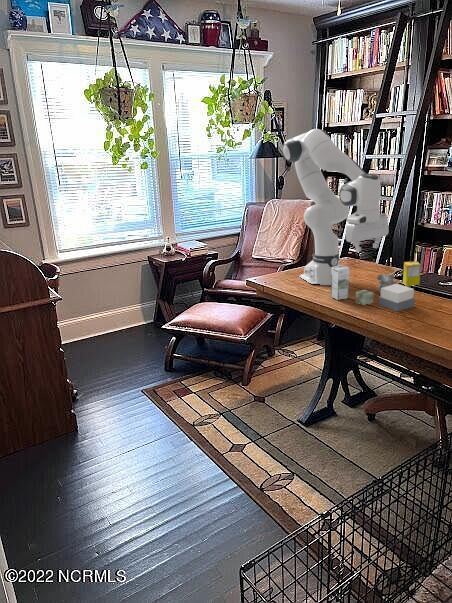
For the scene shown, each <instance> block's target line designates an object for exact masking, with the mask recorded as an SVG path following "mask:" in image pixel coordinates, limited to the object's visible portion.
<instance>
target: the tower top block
mask: <svg viewBox="0 0 452 603" xmlns="http://www.w3.org/2000/svg"><path fill="white" fill-rule="evenodd" d="M414 293H415V289H414V287H413V288H409V287H406V286H404V285H403V284H399V283H395V284H394V285H390V286H387V287H383V288H381V294H380V296H381V298H384V299H387V300H390V301H393V302H396V303H399V302H402V301H406V300H409V299H412V298H414V295H415V294H414Z"/></svg>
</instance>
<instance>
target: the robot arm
mask: <svg viewBox="0 0 452 603" xmlns="http://www.w3.org/2000/svg"><path fill="white" fill-rule="evenodd" d="M282 153H283V156H284V158H285V160H286V161H288V162H289V163H294V167H295V168H294V169H295V172H296V176H297V178H298V182H299V183H300V185H301V188H302V190H303V193H304V195H305V197H306V198H307V199H309V200H311V201H312V202H314V204H313V205H311V206H309V207H307V208H306V209H305V211H304V212H303V220H304V222H305V224H306V226H308V227H309V229H310V230H311V232H312V233H313V237H314V253H311V257H312V260H311V261H310V262H308V263H307V264H306V265H305V266H304V268H303V273H302V274H300V275H299V278H300V277H301V278H302V279H301V278H300V279H301V280H303V279H304V280H306V281H307V282H306V281H305V282H306V283H308V282H309V283H311V284H320V285H319V286H331V269H332V267H334V266H340V262H339V261H340V253H339V236H338V235H337V234H336V233H334V231H333V229H332V226H333V225H335V224H339V223H340V222H343V221H345V220H346V223H347V224H346V227H345V240H346V242H347V243H352V244H353V246H354V247H355V252H356V253H360V252H362V246H360V243H361V242H362V241H366V240H372V239H374V243H372V248H373V249H378V248H379V245H380V242H381V241H382V237H386V236H388V235H389V232H390V231H389V230H390V229H389V228H390V226H389V221H388V215H387V214H386V213H384V212H382V213H381V206H380V205H381V204H380V200H381V196H382V187H381V186H382V185H381V180H380V177H379V176H378V175H376V174H374V173H367V172H366V171H365V170H364V169H363V168H362V167H361V166H360V165H359V164H358V163H357V161H355V160H354V158H352V157H351V156H349V155H348V154H346V153H345V152H344V151H342V150H341V149H340V148H339V147H338V146H337V145H336V144H335V143H334V142H333V140H332V139H331V138H330V136H329V134H328V133H327V132H326V131H325V130H324V129H319V128H313V129H311V130H309V131H307V132H303V133H302V134H299V135H296V136H295V137H294V136H293V137H290V138H289V139H287V140H286V141H284V142H283V145H282ZM322 170H323V171H327V172H328V171H330V172H337V173H341V174H343V175H346V176H347V177H348V178H349V179H350V180H351V181H349V182H346V183H344V184H342V185H341V187H340V189H339V191H338V195H339V196H337V195H336V194H335V193H334V192H333V190H332V189H331V188H330V187H329V185H328V183H327V181H326V178H325V176H324V174H323V172H322ZM354 206H356V211H355V212H354V213H352V214H351V215H349V214H350V207H354ZM304 280H303V281H304ZM309 283H308V284H309ZM311 284H310V285H311Z"/></svg>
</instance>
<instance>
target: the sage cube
mask: <svg viewBox="0 0 452 603" xmlns="http://www.w3.org/2000/svg"><path fill="white" fill-rule="evenodd" d="M356 302H357V303H356ZM355 303H356V304H358V303H360V304H362V305H361V306H363V305H366V304H369V305H372V304H371V303H374V292H373V291H370V290H367V289H362V290H358V291H356V292H355ZM360 304H359V305H360ZM366 306H367V305H366Z"/></svg>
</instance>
